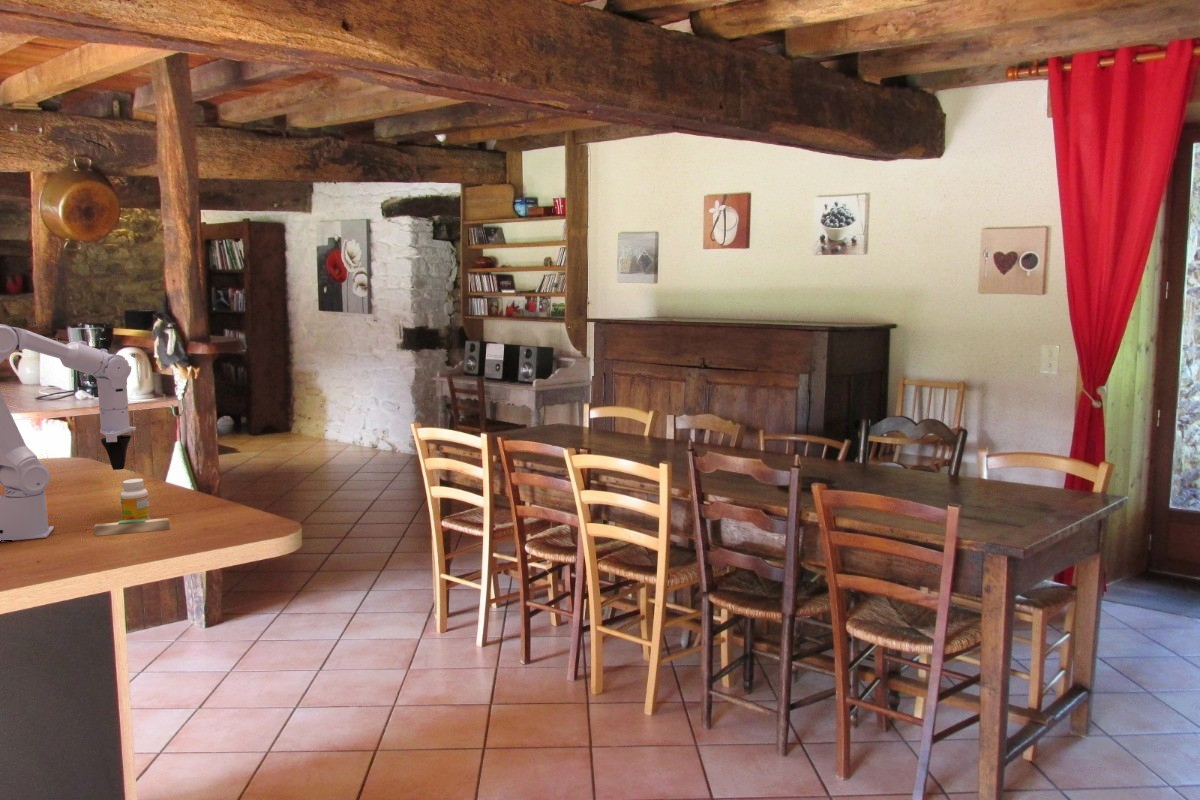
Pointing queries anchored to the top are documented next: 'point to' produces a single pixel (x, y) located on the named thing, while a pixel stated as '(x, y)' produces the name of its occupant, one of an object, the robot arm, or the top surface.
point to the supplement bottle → (135, 500)
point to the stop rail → (131, 526)
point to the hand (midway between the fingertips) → (118, 469)
